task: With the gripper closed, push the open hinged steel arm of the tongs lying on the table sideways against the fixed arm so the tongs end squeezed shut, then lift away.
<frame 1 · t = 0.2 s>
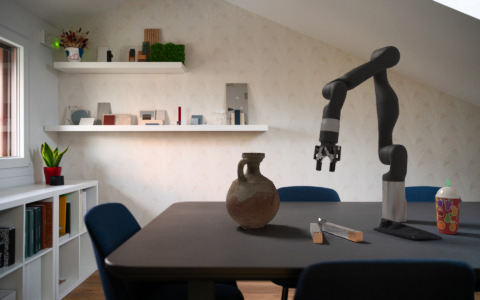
hand: (324, 171, 150), 22 cm above the table, tool pointing down, fingers open, 8 cm apart
tong arm: (341, 231, 135), point 2 cm above the table, hinge at 30.0°
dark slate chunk: (405, 235, 139), on the table
smoothie: (447, 233, 141), on the table
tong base: (322, 229, 146), on the table
jug: (252, 227, 151), on the table
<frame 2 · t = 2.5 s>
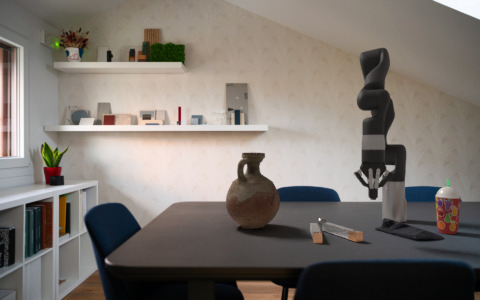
hand: (372, 199, 128), 14 cm above the table, tool pointing down, fingers closed
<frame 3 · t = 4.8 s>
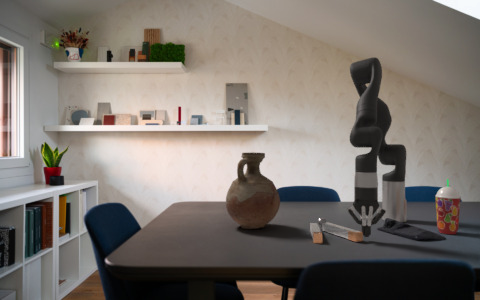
hand: (365, 236, 128), 2 cm above the table, tool pointing down, fingers closed
tong arm: (341, 231, 135), point 2 cm above the table, hinge at 30.0°, touching gripper
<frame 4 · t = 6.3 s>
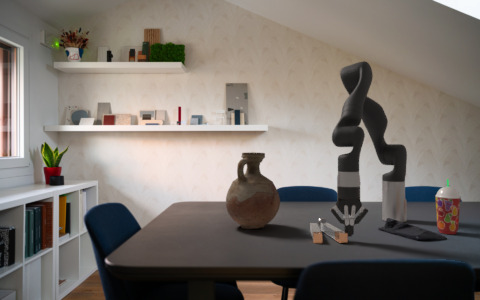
hand: (348, 236, 128), 2 cm above the table, tool pointing down, fingers closed
tong arm: (332, 231, 134), point 2 cm above the table, hinge at 13.5°, touching gripper
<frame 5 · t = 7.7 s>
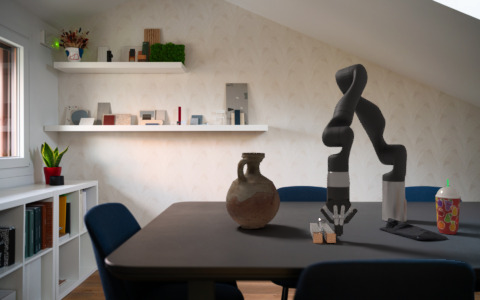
hand: (338, 235, 129), 2 cm above the table, tool pointing down, fingers closed
tong arm: (326, 231, 134), point 2 cm above the table, hinge at 2.5°, touching gripper
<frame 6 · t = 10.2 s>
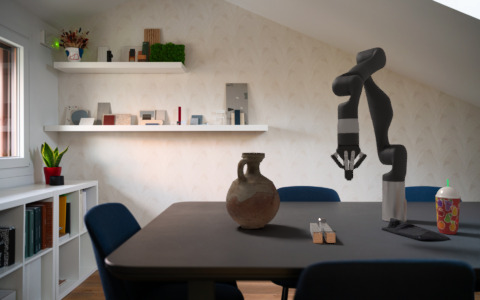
hand: (348, 180, 135), 20 cm above the table, tool pointing down, fingers closed
tong arm: (326, 231, 134), point 2 cm above the table, hinge at 2.3°
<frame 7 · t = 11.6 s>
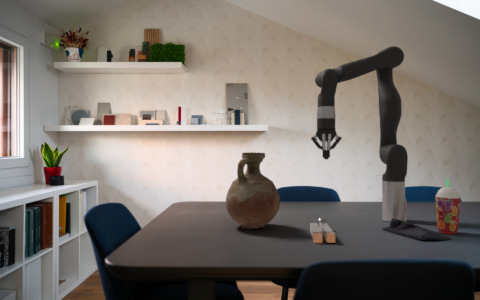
hand: (326, 159, 158), 27 cm above the table, tool pointing down, fingers closed
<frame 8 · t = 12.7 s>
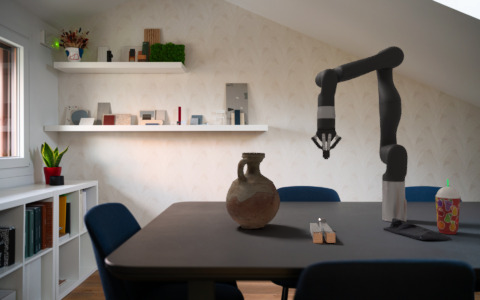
hand: (326, 159, 158), 27 cm above the table, tool pointing down, fingers closed
at the end: tong arm at +2° (first picture: +30°); tong arm touching nothing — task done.
